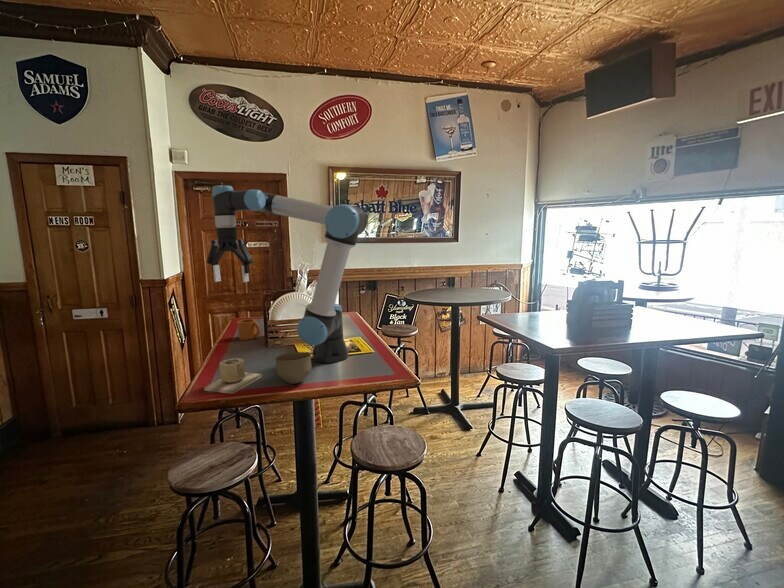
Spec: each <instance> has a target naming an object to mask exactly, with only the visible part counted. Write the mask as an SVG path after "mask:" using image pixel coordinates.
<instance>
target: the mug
mask: <svg viewBox="0 0 784 588" xmlns="http://www.w3.org/2000/svg"><path fill="white" fill-rule="evenodd" d="M236 326H237V331H238V339H239V340H241V341H247V340H254V339H258V338H259V337H260V334H261V327H260V325H259V323H258V322H257V321H256V319H254V318H246V319H240V320H238V321H237V325H236Z"/></svg>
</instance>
